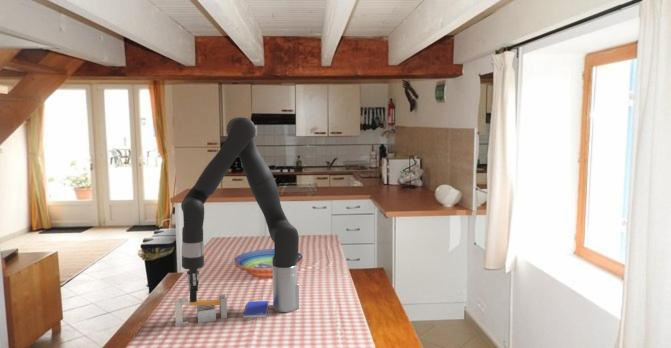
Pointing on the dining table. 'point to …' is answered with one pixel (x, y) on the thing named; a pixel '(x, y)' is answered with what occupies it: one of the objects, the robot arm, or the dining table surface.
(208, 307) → the heatsink
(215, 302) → the orange bar
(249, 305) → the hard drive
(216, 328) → the dining table surface
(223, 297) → the board
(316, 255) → the dining table surface
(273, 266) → the robot arm
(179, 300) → the block
